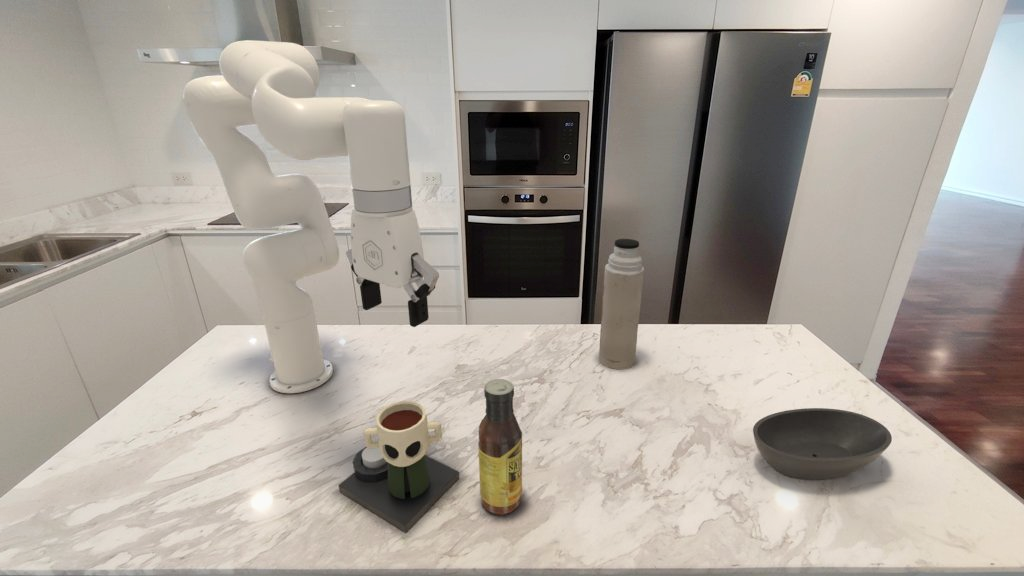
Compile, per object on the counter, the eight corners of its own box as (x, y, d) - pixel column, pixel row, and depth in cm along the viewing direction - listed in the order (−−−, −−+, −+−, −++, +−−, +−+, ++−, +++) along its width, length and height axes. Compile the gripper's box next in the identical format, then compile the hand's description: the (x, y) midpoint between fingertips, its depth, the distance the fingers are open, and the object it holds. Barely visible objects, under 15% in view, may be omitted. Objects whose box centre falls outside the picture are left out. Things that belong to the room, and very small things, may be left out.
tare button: (357, 463, 76) (356, 455, 75) (376, 448, 79) (375, 440, 78) (375, 472, 74) (374, 465, 73) (394, 457, 77) (393, 449, 76)
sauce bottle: (517, 520, 69) (516, 405, 61) (475, 513, 70) (469, 399, 62) (525, 486, 74) (525, 377, 67) (486, 480, 76) (482, 372, 68)
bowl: (729, 446, 82) (735, 416, 80) (843, 431, 85) (852, 402, 83) (775, 501, 71) (784, 469, 69) (904, 482, 74) (917, 450, 72)
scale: (333, 488, 75) (330, 473, 73) (390, 443, 84) (388, 429, 83) (406, 533, 67) (403, 517, 66) (459, 478, 76) (458, 463, 75)
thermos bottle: (592, 362, 108) (600, 242, 97) (608, 347, 114) (616, 233, 103) (626, 373, 103) (637, 249, 93) (640, 357, 109) (652, 239, 99)
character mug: (369, 508, 69) (357, 436, 64) (375, 472, 76) (365, 404, 71) (446, 499, 70) (440, 428, 65) (445, 464, 77) (439, 397, 72)
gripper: (318, 196, 65) (336, 309, 72) (409, 214, 57) (420, 341, 63) (361, 187, 71) (374, 293, 78) (451, 202, 62) (457, 319, 69)
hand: (395, 314), depth 71 cm, fingers open, 9 cm apart
